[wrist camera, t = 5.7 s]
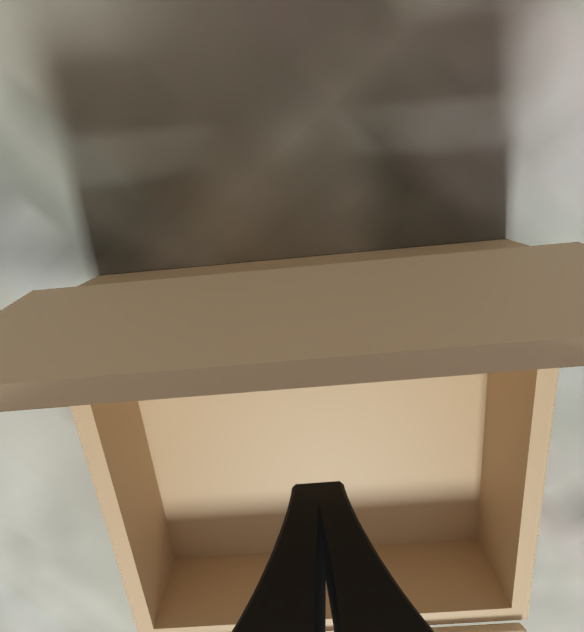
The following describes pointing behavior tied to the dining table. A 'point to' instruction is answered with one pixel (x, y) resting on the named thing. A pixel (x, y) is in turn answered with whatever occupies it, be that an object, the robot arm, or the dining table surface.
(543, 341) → the near flap
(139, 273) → the carton
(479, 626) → the far flap
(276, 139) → the dining table surface
